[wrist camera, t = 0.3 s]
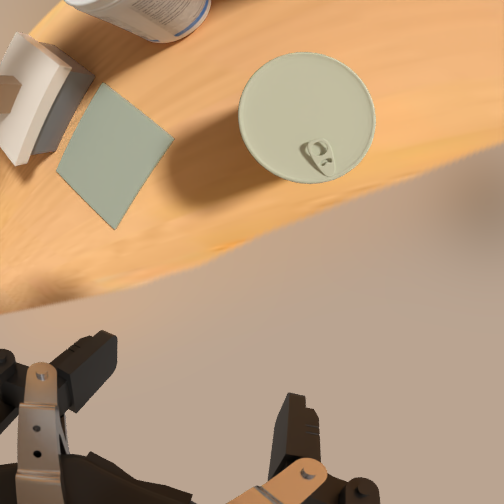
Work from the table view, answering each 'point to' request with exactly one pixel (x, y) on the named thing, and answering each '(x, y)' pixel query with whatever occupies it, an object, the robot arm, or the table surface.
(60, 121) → the box
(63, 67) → the lid
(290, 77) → the can
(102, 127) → the mat
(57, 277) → the table surface
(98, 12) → the supplement tub
